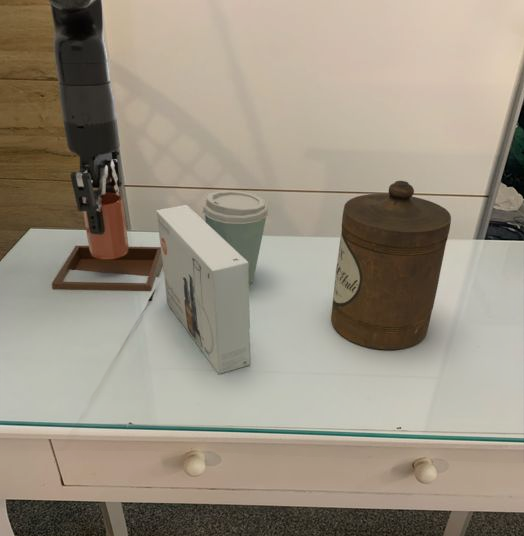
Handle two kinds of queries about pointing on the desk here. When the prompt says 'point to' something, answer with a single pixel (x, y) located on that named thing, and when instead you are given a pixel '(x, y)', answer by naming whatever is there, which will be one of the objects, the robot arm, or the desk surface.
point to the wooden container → (388, 267)
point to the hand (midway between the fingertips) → (105, 224)
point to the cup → (109, 229)
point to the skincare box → (206, 287)
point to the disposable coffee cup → (238, 222)
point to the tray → (112, 269)
